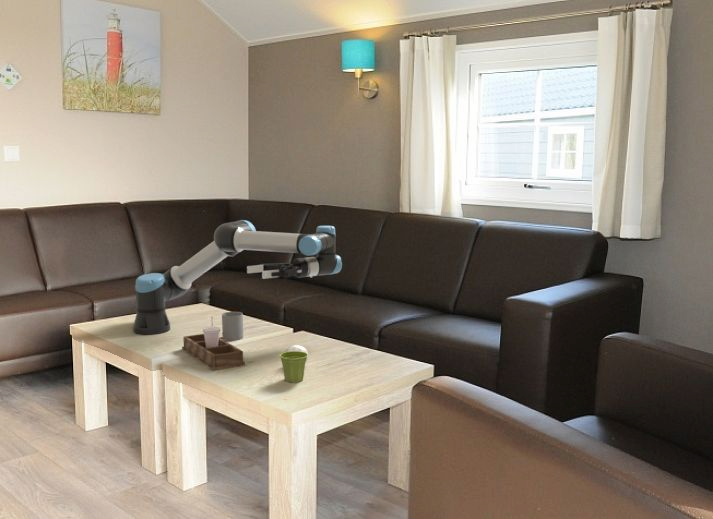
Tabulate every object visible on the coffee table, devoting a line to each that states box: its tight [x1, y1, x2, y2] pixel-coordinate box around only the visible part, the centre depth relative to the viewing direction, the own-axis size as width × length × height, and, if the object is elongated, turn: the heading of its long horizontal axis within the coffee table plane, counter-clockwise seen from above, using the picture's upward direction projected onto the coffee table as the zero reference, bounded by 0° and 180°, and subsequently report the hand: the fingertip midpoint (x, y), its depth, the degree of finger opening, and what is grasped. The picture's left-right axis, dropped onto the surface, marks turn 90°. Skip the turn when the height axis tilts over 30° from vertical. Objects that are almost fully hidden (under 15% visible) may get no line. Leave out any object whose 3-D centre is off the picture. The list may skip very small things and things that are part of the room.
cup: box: [221, 311, 244, 342], centre depth 295 cm, size 8×8×10 cm
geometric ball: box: [286, 344, 309, 364], centre depth 257 cm, size 8×8×8 cm
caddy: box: [181, 333, 246, 371], centre depth 269 cm, size 32×12×5 cm, turn 32°
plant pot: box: [279, 351, 309, 383], centre depth 242 cm, size 9×9×9 cm
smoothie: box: [202, 316, 221, 348], centre depth 268 cm, size 6×6×14 cm
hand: (254, 272), depth 274 cm, fingers open, 13 cm apart
